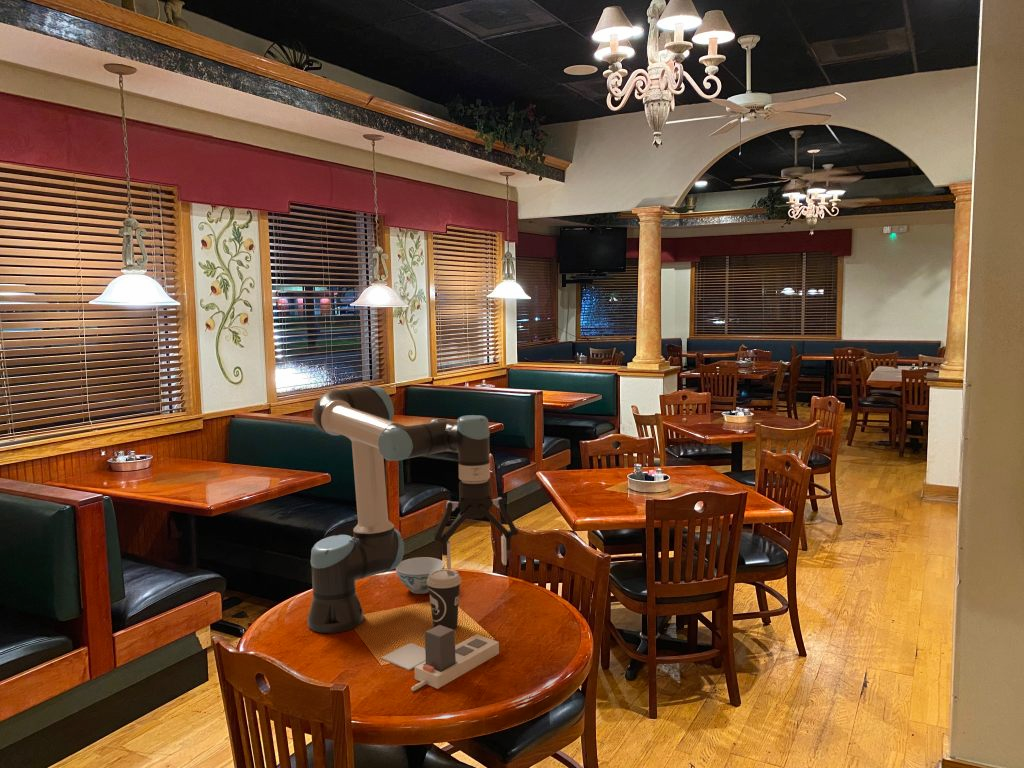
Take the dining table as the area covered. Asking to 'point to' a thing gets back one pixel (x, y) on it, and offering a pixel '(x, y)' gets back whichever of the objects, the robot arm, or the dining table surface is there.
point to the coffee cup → (444, 597)
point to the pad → (406, 656)
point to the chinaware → (418, 572)
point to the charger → (440, 648)
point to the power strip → (458, 662)
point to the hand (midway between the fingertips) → (476, 565)
